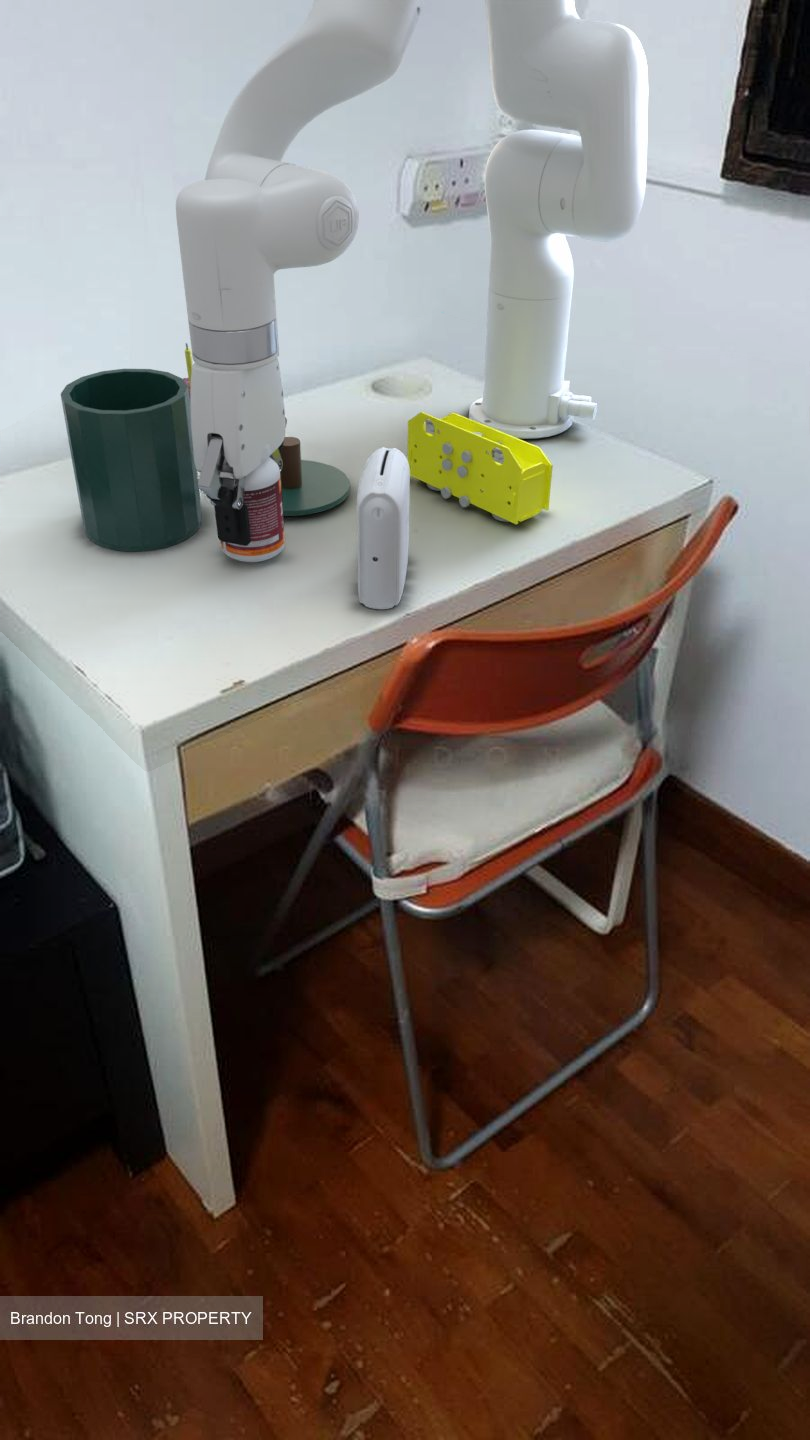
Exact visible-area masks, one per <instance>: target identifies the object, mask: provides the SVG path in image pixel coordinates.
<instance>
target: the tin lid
mask: <svg viewBox="0 0 810 1440" xmlns="http://www.w3.org/2000/svg"><path fill="white" fill-rule="evenodd" d="M283 442H284V443H283V445H284V446H283V447H282V451H281V454H280V456H281V459H282V462H283V467H282V470H281V471H280V474H281V481H282V495H283V517H295V516H297V517H298V516H306V515H313V514H317V513H321V512H324V511H327V510H330V509H332V508H334V507H336V506H338V505H339V504H341V503H342V502H344V501H345V500H346V499H347V498H348V496H349V495H350V492H351V481H350V478H349V477H348V475H347V474H346V473H345V472H344V471H342V470H341V469H340V468H337V467H335V466H333V465H330V464H328V463H324V462H320V461H313V460H307V459H302V454H301V453H302V452H301V450H302V449H301V440H300V439H299V438H298V437H296V436H295V437H294V436H285V438H284V440H283Z"/></svg>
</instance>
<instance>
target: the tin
mask: <svg viewBox="0 0 810 1440" xmlns="http://www.w3.org/2000/svg"><path fill="white" fill-rule="evenodd" d="M60 400H61V406H62V409H63V410H62V411H63V417H64V421H65V422H64V423H65V429H66V434H67V440H68V445H69V451H70V457H71V461H72V462H71V463H72V468H73V469H72V470H73V474H74V480H75V485H76V492H77V498H78V503H79V508H80V514H81V520H82V525H83V527H84V533H85V535H86V537H87V538H88V539H89V540H90V541H91V542H92V543H93V544H95V545H98V546H100V547H102V548H104V549H109V550H113V551H119V552H148V551H155V550H156V551H157V550H161V549H165V548H170V547H173V546H175V545H177V544H180V543H182V542H184V541H186V540H188V539H189V538H191V537H192V536H193V535H195V534H196V533H197V532H198V530H199V529H200V527H201V525H202V516H203V515H202V513H203V512H202V505H201V504H202V503H201V495H200V489H199V488H198V481H199V476H198V471H197V470H196V467H195V463H194V455H193V444H192V430H191V408H190V398H189V388H188V386H187V384H186V383H185V381H184V380H183V377H180V376H178V375H176V374H174V373H171V372H168V371H163V370H159V369H152V368H118V369H110V370H102V371H98V372H94V373H90V374H87V375H83V376H81V377H79V378H77V379H75V380H73V381H72V382H70V383H67V384H66V385H65V386H64V388H63V389H62V391H61V392H60Z"/></svg>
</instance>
